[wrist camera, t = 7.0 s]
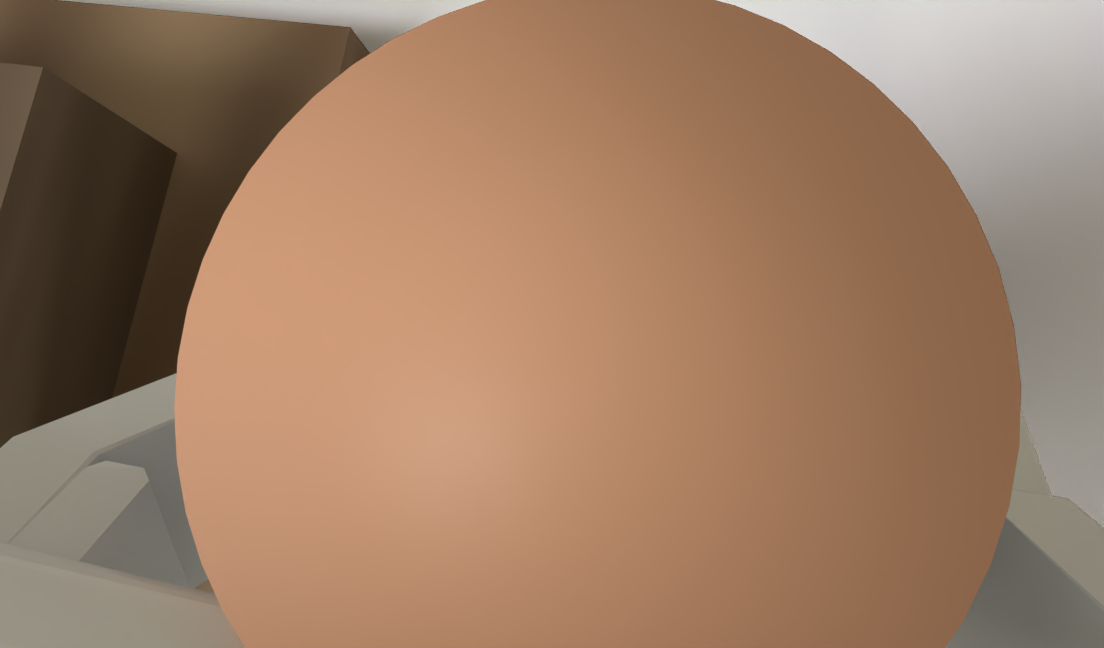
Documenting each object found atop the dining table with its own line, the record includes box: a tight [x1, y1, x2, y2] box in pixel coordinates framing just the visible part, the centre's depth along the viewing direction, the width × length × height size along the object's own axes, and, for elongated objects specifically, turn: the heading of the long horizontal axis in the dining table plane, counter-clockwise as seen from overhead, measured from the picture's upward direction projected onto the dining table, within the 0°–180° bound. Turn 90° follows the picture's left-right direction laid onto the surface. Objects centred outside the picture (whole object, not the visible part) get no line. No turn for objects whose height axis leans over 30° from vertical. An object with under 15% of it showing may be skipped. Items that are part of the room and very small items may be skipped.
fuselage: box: [174, 0, 1021, 648], centre depth 10 cm, size 4×4×11 cm
